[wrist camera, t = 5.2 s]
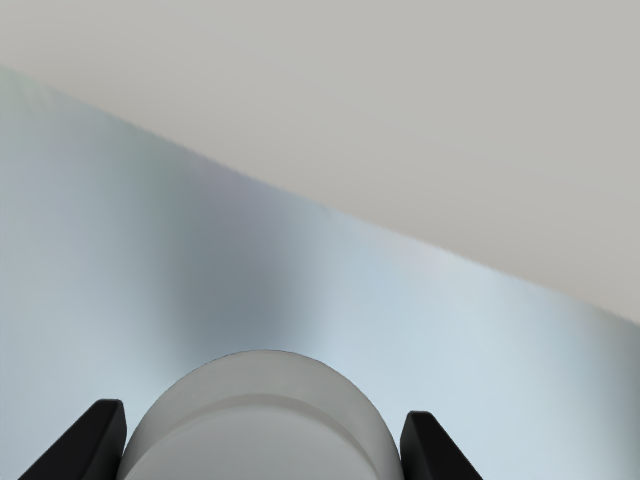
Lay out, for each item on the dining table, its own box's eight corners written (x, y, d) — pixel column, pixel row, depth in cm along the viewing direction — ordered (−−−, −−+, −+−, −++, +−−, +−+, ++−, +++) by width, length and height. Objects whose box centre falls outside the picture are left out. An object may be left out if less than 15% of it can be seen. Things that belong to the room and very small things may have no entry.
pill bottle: (149, 461, 15) (-73, 640, 6) (252, 317, 17) (208, 271, 7) (291, 568, 15) (304, 945, 5) (387, 413, 16) (535, 501, 7)
